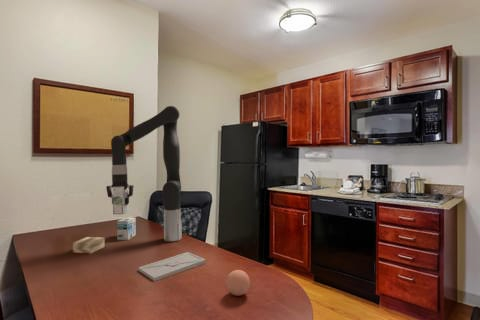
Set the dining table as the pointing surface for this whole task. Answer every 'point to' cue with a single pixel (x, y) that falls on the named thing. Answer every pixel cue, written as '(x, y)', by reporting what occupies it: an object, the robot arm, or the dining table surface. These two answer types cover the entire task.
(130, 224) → the light bulb box
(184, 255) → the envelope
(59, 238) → the dining table surface
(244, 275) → the toy ball
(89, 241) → the maple block
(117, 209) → the syrup box
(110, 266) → the dining table surface
